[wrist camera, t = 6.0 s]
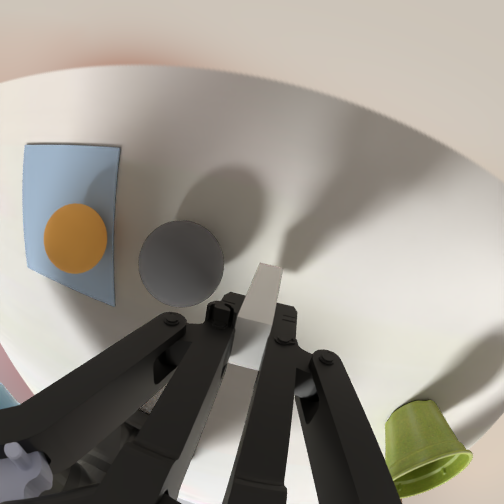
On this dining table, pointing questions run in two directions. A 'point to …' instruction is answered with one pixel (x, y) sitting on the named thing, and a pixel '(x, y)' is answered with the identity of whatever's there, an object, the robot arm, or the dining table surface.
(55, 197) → the mark
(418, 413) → the plant pot
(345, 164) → the dining table surface
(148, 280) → the ball
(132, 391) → the robot arm
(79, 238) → the ball
